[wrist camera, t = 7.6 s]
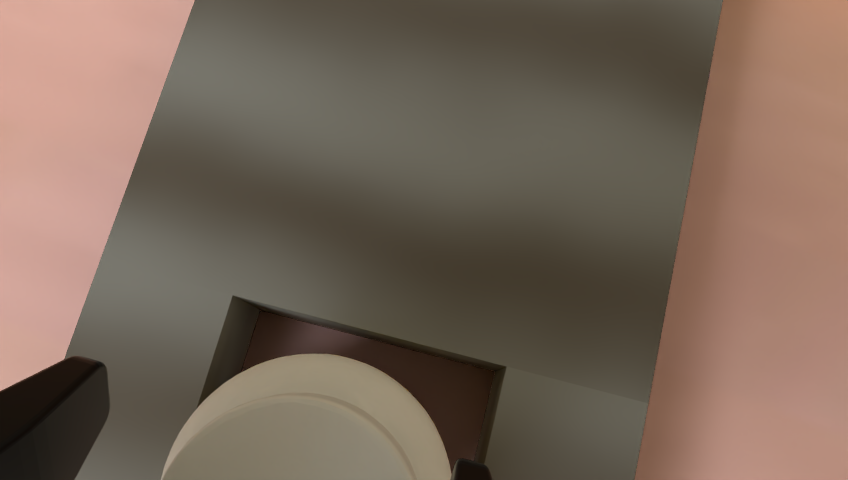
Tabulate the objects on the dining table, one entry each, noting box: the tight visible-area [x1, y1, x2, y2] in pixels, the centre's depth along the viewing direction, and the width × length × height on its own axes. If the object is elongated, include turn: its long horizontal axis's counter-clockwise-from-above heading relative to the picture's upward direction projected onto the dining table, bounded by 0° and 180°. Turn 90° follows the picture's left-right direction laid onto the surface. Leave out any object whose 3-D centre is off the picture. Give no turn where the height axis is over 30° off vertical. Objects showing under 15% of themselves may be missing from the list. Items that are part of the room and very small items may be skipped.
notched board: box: [65, 0, 723, 480], centre depth 20 cm, size 24×14×3 cm, turn 165°
